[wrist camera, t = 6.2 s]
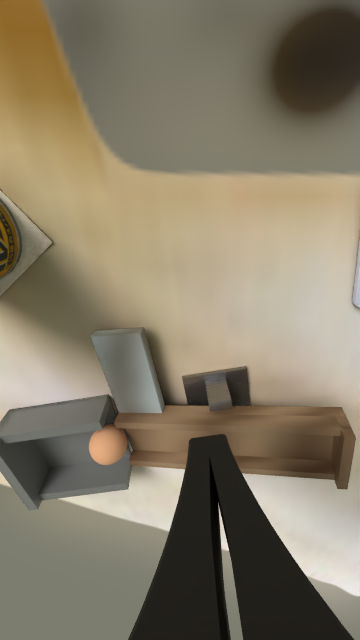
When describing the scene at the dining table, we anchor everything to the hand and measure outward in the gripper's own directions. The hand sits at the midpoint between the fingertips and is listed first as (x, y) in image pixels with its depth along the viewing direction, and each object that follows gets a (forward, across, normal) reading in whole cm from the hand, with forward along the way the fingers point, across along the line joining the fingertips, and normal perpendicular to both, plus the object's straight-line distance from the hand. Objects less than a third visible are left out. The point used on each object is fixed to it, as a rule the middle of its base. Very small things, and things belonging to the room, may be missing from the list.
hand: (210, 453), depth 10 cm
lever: (+8, -1, +4) cm, 9 cm away
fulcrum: (+10, -1, +8) cm, 13 cm away
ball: (+8, +8, +8) cm, 14 cm away
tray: (+10, +12, +8) cm, 18 cm away
